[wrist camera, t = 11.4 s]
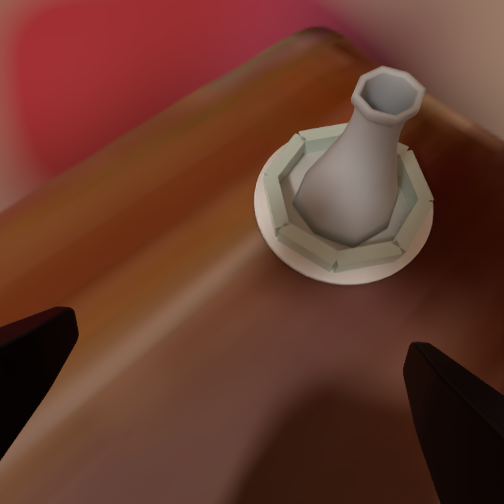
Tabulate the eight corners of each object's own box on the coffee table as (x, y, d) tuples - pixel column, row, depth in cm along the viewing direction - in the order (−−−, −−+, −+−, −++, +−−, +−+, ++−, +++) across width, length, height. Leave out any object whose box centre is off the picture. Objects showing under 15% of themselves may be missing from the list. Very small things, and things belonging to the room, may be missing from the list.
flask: (274, 205, 25) (279, 99, 16) (334, 145, 27) (369, 17, 17) (355, 266, 23) (415, 185, 14) (413, 196, 25) (501, 83, 15)
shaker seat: (457, 181, 26) (473, 164, 24) (378, 322, 22) (389, 316, 20) (310, 110, 29) (314, 91, 27) (220, 224, 25) (216, 210, 23)
